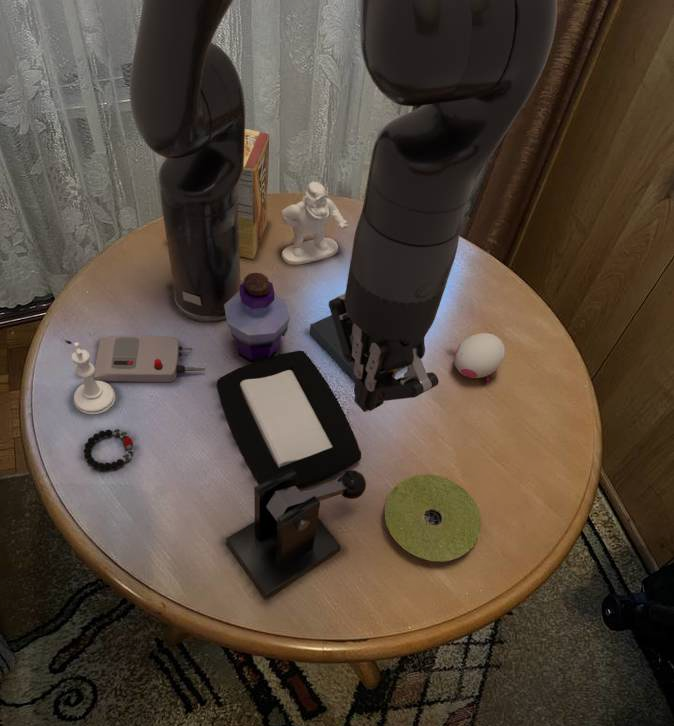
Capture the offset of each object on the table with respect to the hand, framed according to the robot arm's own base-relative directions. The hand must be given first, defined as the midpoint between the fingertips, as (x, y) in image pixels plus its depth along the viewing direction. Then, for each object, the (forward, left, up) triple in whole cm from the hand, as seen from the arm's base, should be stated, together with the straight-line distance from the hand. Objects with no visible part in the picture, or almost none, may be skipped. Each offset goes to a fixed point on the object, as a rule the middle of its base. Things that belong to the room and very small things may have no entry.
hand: (366, 403), depth 63 cm
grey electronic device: (-30, -10, -17) cm, 36 cm away
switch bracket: (+2, -10, -17) cm, 20 cm away
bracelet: (-20, -20, -17) cm, 33 cm away
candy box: (-44, +15, -17) cm, 50 cm away
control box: (-17, +16, -17) cm, 29 cm away
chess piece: (-28, -18, -17) cm, 38 cm away
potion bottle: (-25, +3, -17) cm, 30 cm away
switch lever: (+2, -6, -11) cm, 13 cm away
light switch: (-12, 0, -17) cm, 21 cm away
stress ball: (-6, +27, -17) cm, 32 cm away
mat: (+9, +6, -17) cm, 20 cm away
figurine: (-37, +21, -17) cm, 46 cm away
